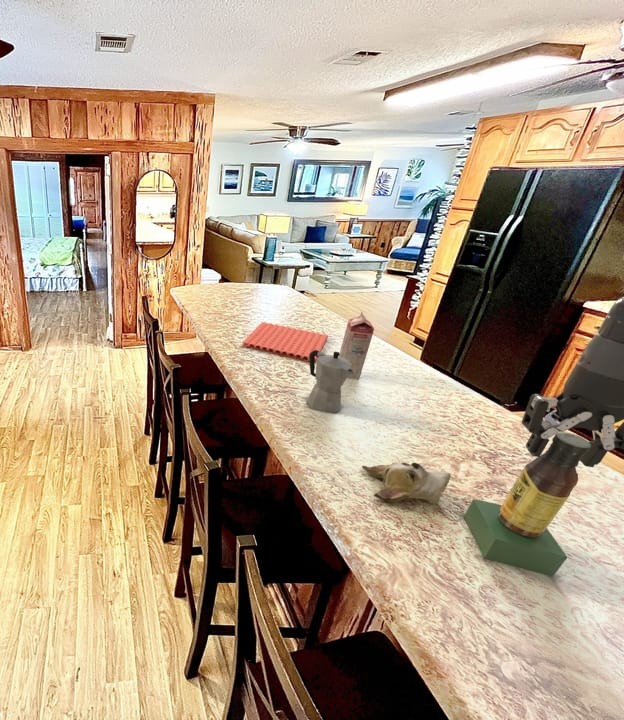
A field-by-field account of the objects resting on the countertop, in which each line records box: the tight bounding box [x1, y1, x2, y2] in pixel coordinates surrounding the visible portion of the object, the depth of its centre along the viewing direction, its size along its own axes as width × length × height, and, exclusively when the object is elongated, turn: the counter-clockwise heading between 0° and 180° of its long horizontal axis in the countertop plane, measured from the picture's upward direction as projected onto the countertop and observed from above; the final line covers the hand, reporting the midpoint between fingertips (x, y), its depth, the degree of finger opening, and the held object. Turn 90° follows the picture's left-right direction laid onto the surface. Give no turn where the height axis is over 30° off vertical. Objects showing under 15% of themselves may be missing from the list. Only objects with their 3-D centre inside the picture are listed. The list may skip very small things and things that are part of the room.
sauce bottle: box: [499, 431, 591, 538], centre depth 66 cm, size 6×6×20 cm
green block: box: [463, 498, 568, 577], centre depth 71 cm, size 10×10×6 cm
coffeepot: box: [306, 350, 355, 414], centre depth 113 cm, size 15×9×18 cm, turn 23°
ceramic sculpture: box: [361, 462, 452, 505], centre depth 83 cm, size 11×9×15 cm
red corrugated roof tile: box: [241, 321, 329, 364], centre depth 159 cm, size 28×28×2 cm
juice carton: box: [338, 311, 375, 380], centre depth 131 cm, size 7×7×22 cm
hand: (558, 458), depth 63 cm, fingers open, 6 cm apart
